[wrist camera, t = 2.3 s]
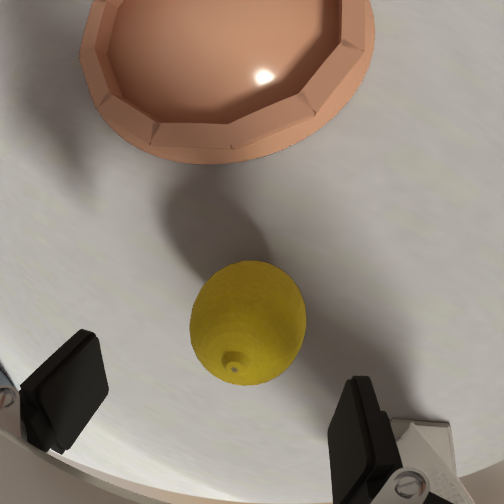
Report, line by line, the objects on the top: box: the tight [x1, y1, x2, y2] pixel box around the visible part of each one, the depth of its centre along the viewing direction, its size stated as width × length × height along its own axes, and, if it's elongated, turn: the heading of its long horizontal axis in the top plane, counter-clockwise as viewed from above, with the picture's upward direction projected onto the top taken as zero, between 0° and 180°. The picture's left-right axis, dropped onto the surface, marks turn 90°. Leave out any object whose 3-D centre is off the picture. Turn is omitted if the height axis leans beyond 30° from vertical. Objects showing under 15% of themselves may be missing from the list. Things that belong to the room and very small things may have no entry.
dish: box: [79, 0, 375, 164], centre depth 13 cm, size 18×18×2 cm
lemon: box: [190, 260, 307, 386], centre depth 15 cm, size 6×6×8 cm
